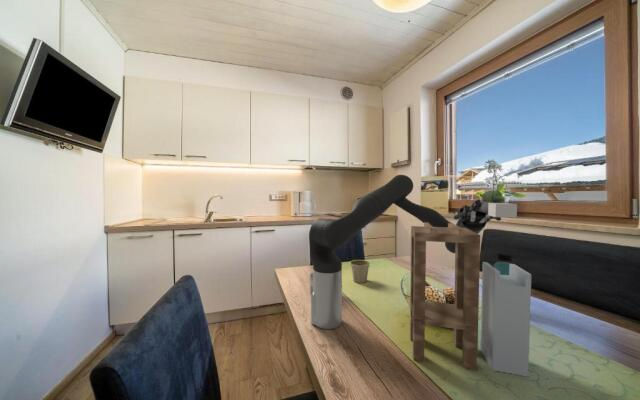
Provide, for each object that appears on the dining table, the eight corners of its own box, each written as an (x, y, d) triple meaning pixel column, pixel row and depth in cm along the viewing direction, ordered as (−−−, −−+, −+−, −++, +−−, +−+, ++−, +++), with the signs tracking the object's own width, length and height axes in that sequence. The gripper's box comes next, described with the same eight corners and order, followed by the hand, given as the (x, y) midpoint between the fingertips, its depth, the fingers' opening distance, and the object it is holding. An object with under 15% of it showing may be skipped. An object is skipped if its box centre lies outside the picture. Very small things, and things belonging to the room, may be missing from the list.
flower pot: (346, 279, 118) (346, 261, 118) (362, 276, 122) (362, 258, 122) (356, 286, 110) (357, 266, 110) (374, 282, 114) (374, 264, 114)
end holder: (492, 370, 58) (495, 271, 57) (480, 349, 66) (482, 261, 65) (528, 376, 56) (531, 274, 55) (511, 354, 64) (514, 264, 63)
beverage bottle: (505, 315, 84) (507, 256, 83) (487, 306, 90) (488, 252, 89) (520, 313, 85) (521, 255, 85) (501, 304, 92) (502, 250, 91)
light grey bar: (495, 217, 61) (495, 203, 60) (469, 210, 80) (469, 200, 80) (516, 217, 59) (517, 204, 59) (485, 211, 79) (485, 200, 79)
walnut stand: (413, 360, 62) (415, 227, 61) (409, 335, 73) (411, 221, 71) (477, 370, 58) (480, 229, 57) (463, 343, 69) (466, 223, 67)
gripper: (446, 214, 90) (458, 190, 75) (490, 215, 86) (512, 191, 72) (448, 234, 87) (461, 213, 72) (494, 236, 83) (518, 214, 68)
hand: (486, 202), depth 72 cm, fingers closed on light grey bar, 3 cm apart
